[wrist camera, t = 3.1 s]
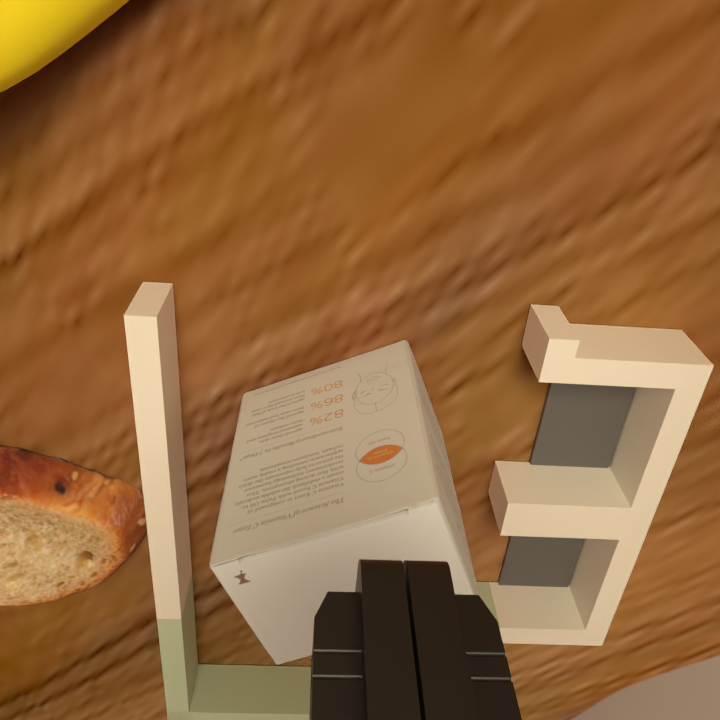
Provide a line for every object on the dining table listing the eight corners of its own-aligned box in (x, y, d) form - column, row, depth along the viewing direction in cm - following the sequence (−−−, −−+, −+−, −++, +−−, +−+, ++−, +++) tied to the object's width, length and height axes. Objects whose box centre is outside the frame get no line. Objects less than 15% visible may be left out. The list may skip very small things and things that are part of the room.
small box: (288, 478, 34) (270, 671, 25) (240, 389, 31) (201, 569, 22) (444, 431, 33) (486, 616, 24) (409, 334, 30) (440, 501, 21)
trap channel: (143, 281, 28) (123, 315, 26) (687, 313, 30) (720, 348, 27) (178, 676, 41) (168, 724, 39) (553, 684, 43) (567, 731, 40)
